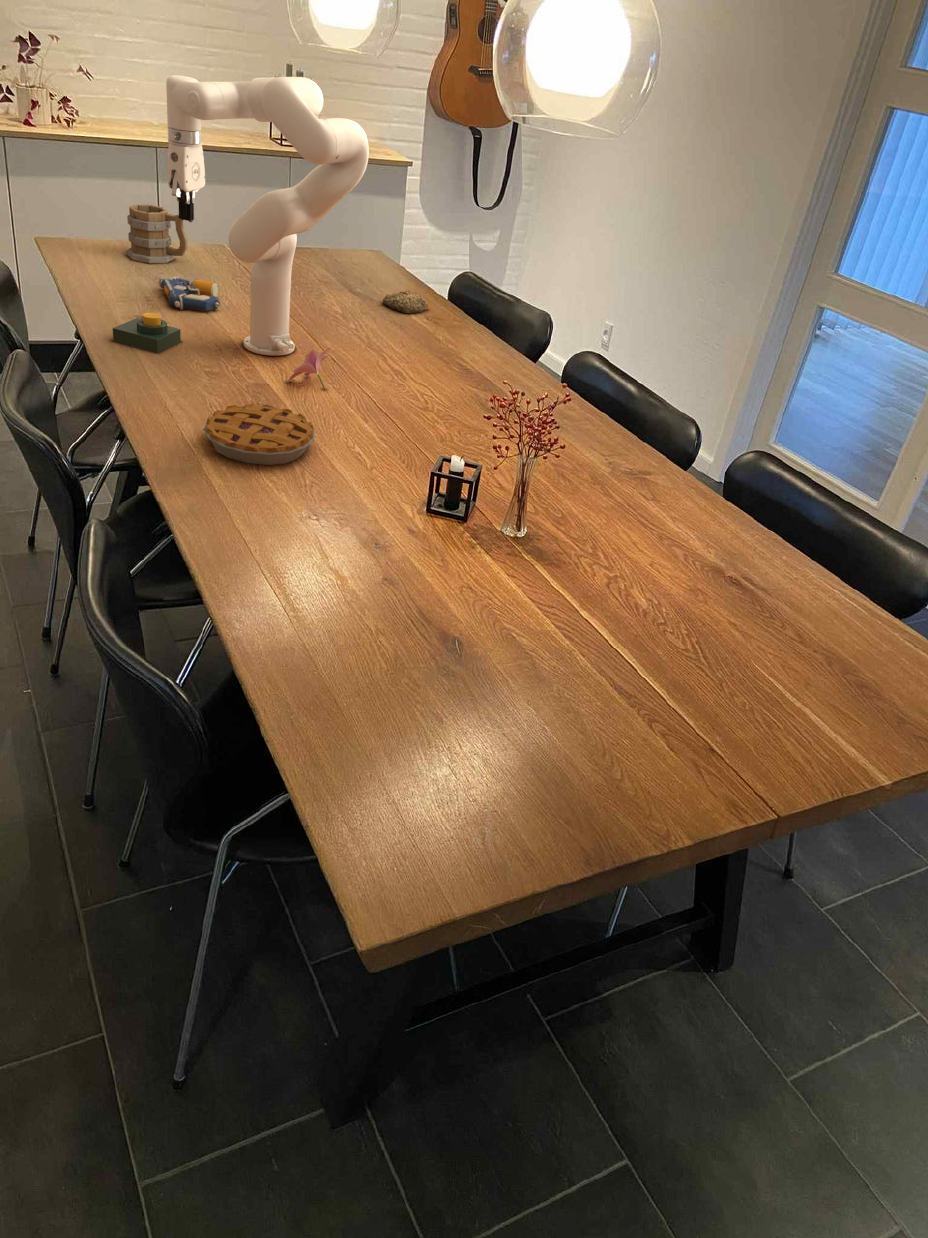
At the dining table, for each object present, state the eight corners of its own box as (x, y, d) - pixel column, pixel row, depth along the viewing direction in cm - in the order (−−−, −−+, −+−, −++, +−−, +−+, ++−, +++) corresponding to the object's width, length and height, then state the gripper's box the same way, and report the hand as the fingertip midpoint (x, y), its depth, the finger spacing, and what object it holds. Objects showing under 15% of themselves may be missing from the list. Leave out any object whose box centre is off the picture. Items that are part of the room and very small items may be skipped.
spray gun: (212, 288, 265) (158, 288, 258) (212, 273, 262) (157, 272, 256) (229, 314, 250) (172, 314, 244) (229, 298, 248) (171, 298, 241)
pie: (223, 414, 196) (223, 392, 194) (325, 432, 196) (326, 410, 194) (188, 456, 178) (188, 432, 176) (300, 476, 178) (301, 452, 176)
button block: (180, 341, 227) (180, 321, 224) (157, 353, 219) (156, 332, 216) (137, 330, 229) (136, 310, 227) (113, 341, 221) (111, 320, 218)
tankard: (121, 257, 276) (117, 204, 268) (140, 248, 286) (137, 197, 278) (185, 270, 275) (183, 217, 266) (202, 261, 285) (201, 209, 277)
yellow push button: (164, 323, 223) (163, 315, 222) (154, 328, 219) (154, 319, 218) (149, 320, 223) (149, 311, 222) (139, 324, 220) (139, 315, 219)
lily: (334, 380, 224) (318, 342, 220) (352, 379, 214) (336, 339, 210) (290, 399, 220) (274, 360, 216) (306, 399, 210) (289, 358, 206)
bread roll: (402, 315, 270) (404, 298, 267) (377, 302, 277) (378, 285, 274) (435, 311, 278) (437, 295, 275) (410, 298, 285) (412, 282, 282)
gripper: (182, 142, 210) (184, 227, 221) (214, 136, 222) (215, 217, 233) (152, 136, 211) (156, 221, 222) (186, 130, 223) (188, 211, 234)
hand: (186, 219), depth 227 cm, fingers closed
